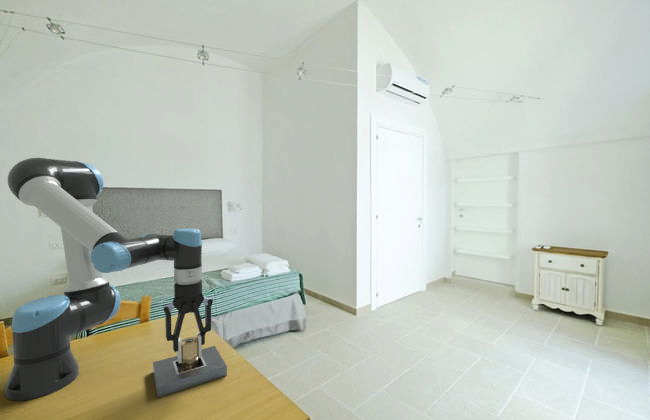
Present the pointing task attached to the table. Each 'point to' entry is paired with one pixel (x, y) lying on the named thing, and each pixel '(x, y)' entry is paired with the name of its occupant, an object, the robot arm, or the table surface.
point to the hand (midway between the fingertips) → (189, 358)
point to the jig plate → (187, 372)
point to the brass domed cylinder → (189, 353)
